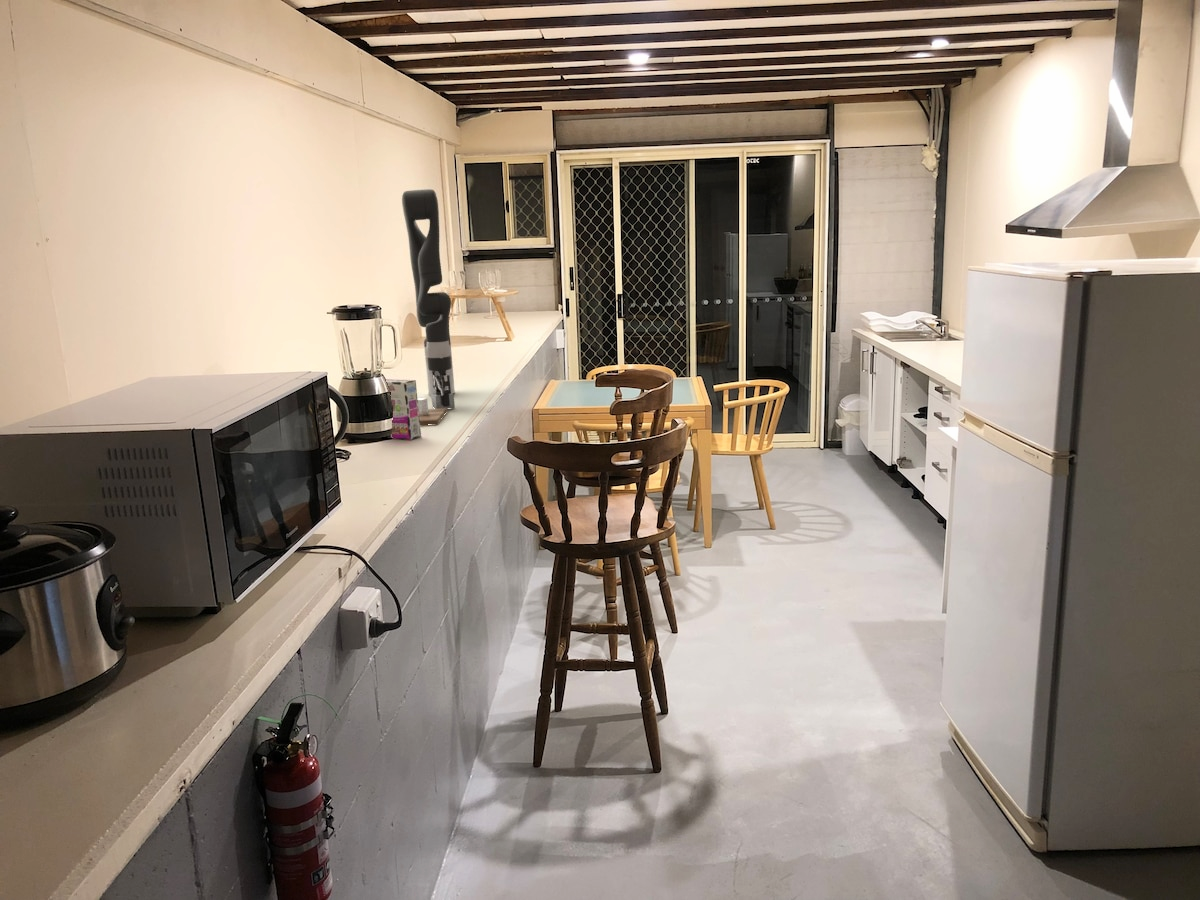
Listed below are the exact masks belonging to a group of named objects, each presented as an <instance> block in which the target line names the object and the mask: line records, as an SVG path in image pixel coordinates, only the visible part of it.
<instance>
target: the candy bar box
mask: <svg viewBox="0 0 1200 900" xmlns="http://www.w3.org/2000/svg"><path fill="white" fill-rule="evenodd" d="M386 382H387V383H388V386H389V389H390V392H391V395H390V396H391V401H392V405H393V420H392V437H393V438H394V439H393V440H404V439H407V440H406V441H412V440H415V439H418V437H419V438H421V437H422V431H421V426H420V420H419V410H418V400H417V399H418V391H417V390H418V389H417V380H415V379H414V380H413V379H388V378H386ZM386 387H387V385H386ZM387 389H388V387H387ZM388 392H389V390H388Z"/></svg>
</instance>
